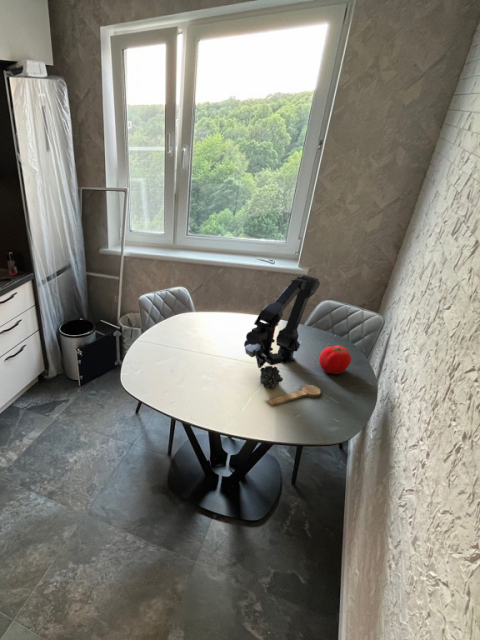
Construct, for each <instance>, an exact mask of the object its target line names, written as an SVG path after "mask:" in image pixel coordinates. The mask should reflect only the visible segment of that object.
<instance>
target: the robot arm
mask: <svg viewBox="0 0 480 640" xmlns="http://www.w3.org/2000/svg"><path fill="white" fill-rule="evenodd" d="M320 285H321V282H320V280H319V278H317V277H314V276H310V275H306V274H302V275H301V276H295V277H293V278H292V279H291V280H290V283H289V284H288V285H287V286H286V288H285V289H284V290H283V291H282V293H280V295H279V296H278V297H277V298H276V300H275V301H273V302H272V303H269V304H266V306H265V307H264V308H263V309H262V310H261V311H260V312H259V314H258V316H257V318H256V320H255V321H254V323H253V325H255V326H256V327H254V328H251V331H249V332H247V334H246V335H245V339H246V340H245V341H244V343H243V347H244V350H245V354H246V355H247V356H249V357H250V358H255V359H256V365H257V368H258V369H261V368H263V366H264V365H265V364H266V363H267V364H268V365H269V366H275V365H278V364H282V363H289V362H293V361H295V360H296V358H294V353H295V352H298V350H299V349H300V347H301V344H300V342H299V341H298V340H299V331H298V328H299V325H300V322H301V320H302V318H303V314H304V312H305V310H306V307H307V304H308V302H309V299H310V298H311V297H312V296H313V295H315V294H316V292H317V290H318V289H319V287H320ZM295 297H296V298H295ZM294 298H295V300H294ZM293 300H294V303H293V305H292V308H291V310H290V314H289V316H288V319H287V322H286V325H285V327H284V328H281V329H280V330H278V333H277V335H276V338H275V339H274V336H275V331H276V327H277V326H279V323H280V322H281V319H282V318H283V316H284V310H285V309H286V308H287V307H288V306H289V305H290V303H291V302H292V301H293ZM275 340H276V341H275ZM273 343H276V344H275V345H276V346H278V347H279V348H278V350H277V352H272V351H273V350H274V348H273V347H272V346H273V345H272V344H273Z"/></svg>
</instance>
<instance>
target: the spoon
mask: <svg viewBox="0 0 480 640" xmlns="http://www.w3.org/2000/svg"><path fill="white" fill-rule="evenodd" d="M321 391H322V390H321V389H320V388H319V387H318V386H316V385H312V384H305V385H304V384H303V386H302V388H301V390H298V391H294V392H291V393H287V394H284V395H280V396H277V397H274V398H271V399H268V400H267V403H268V404H269V405H270V406H272V407H274V406H276V405H279V404H283V403H287V402H289V401H293V400H297V399H300V398H304V397H310V398H317V397H319V396H320V395H321Z"/></svg>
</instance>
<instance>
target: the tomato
mask: <svg viewBox="0 0 480 640" xmlns="http://www.w3.org/2000/svg"><path fill="white" fill-rule="evenodd" d="M351 362H352V356H351V354H350V353H349V351H348V348H346V347H345V346H342V345H335V346H333V345H329V346H327V347H325V348H324V349H323V350H322V351H321V352H320V354H319V356H318V363H319V366H320V368H321V369H322V370H323V371H324V372H326V373H328V374H331V375H339V374H342V373H344V372H345V371H346V370H347V368H348V367H349V366H350V365H351Z"/></svg>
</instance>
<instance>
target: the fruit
mask: <svg viewBox="0 0 480 640" xmlns="http://www.w3.org/2000/svg"><path fill="white" fill-rule="evenodd" d="M259 371H260V384H261V385H263V387H264V388H272V389H275V388H277V386H278V385H280V383H282V382H283V381H284V378H283V377H282V376H281V375H280V370H279V369H278V367H277V366H273V365H266V366H264V367H261V368H259Z"/></svg>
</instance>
